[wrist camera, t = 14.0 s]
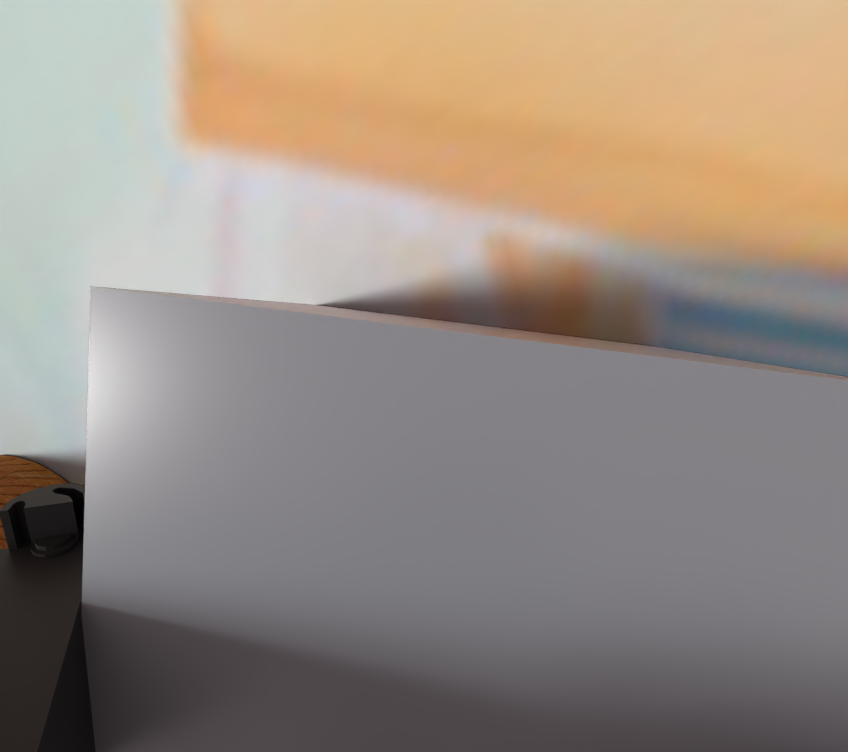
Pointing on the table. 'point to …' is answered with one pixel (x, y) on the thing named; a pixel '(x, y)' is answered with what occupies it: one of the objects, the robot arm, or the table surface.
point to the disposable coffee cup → (21, 482)
